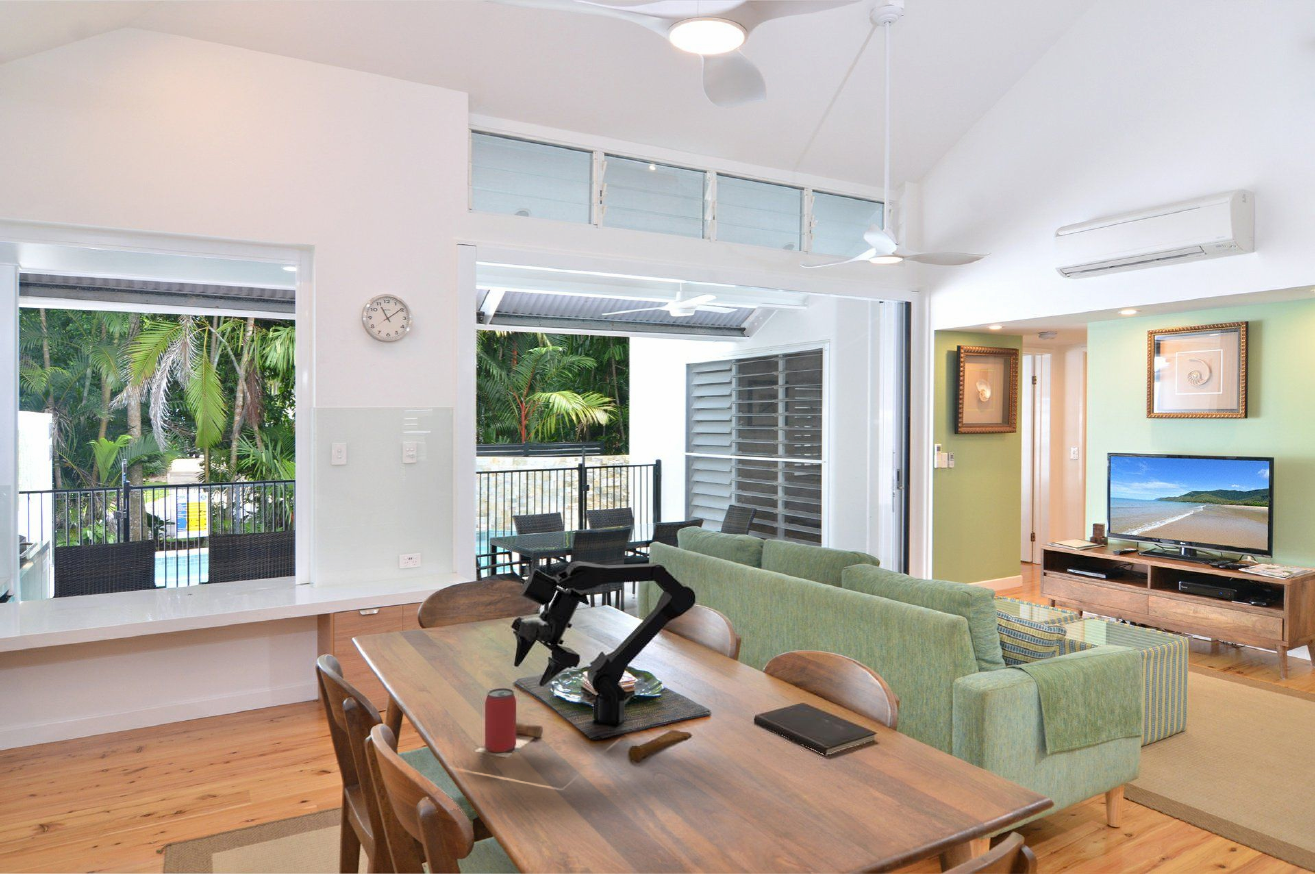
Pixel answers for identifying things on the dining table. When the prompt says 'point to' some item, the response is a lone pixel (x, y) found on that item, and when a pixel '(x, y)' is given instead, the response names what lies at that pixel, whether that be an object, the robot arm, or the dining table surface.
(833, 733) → the hardcover book
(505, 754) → the plywood offcut
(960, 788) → the dining table surface
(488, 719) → the beer can
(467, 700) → the dining table surface
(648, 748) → the primitive tool
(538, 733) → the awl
